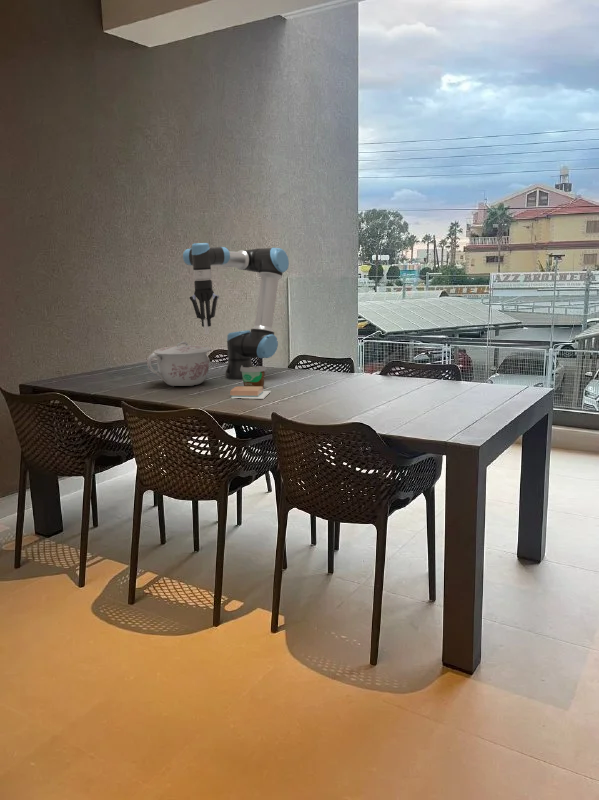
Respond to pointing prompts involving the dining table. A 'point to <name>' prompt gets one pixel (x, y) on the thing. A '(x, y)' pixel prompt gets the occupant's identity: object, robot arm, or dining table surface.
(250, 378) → the food container
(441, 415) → the dining table surface
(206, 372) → the chamber pot
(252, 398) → the mat
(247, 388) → the tile
